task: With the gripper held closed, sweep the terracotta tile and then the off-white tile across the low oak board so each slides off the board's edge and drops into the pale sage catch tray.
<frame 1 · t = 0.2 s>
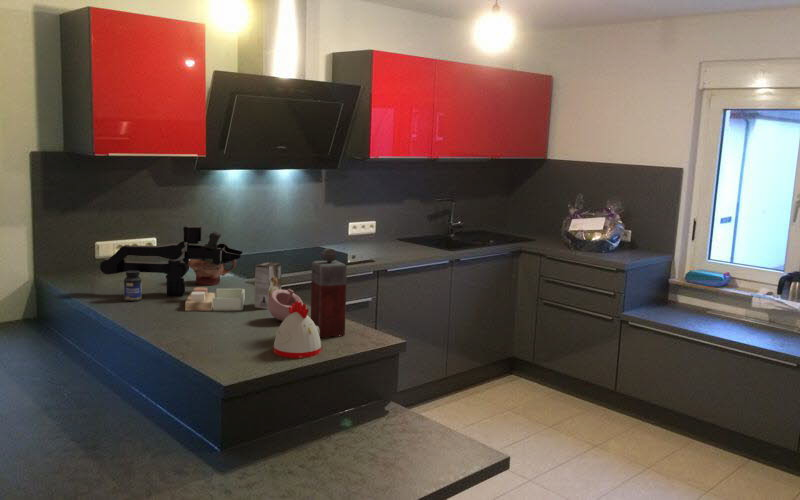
hand: (241, 254, 270), 16 cm above the worktop, tool horizontal, fingers open, 9 cm apart
catch tray: (229, 305, 255), on the worktop
oak board: (200, 305, 253), on the worktop
pill bottle: (133, 300, 257), on the worktop
kitchen timer: (297, 351, 201), on the worktop
decorative planter: (212, 283, 294), on the worktop
red square decanter: (326, 333, 223), on the worktop
mortar and pestle: (285, 321, 236), on the worktop
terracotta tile: (200, 295, 256), point 3 cm above the worktop, touching oak board
coffee box: (267, 306, 256), on the worktop
offwhite tile: (198, 299, 249), point 3 cm above the worktop, touching oak board
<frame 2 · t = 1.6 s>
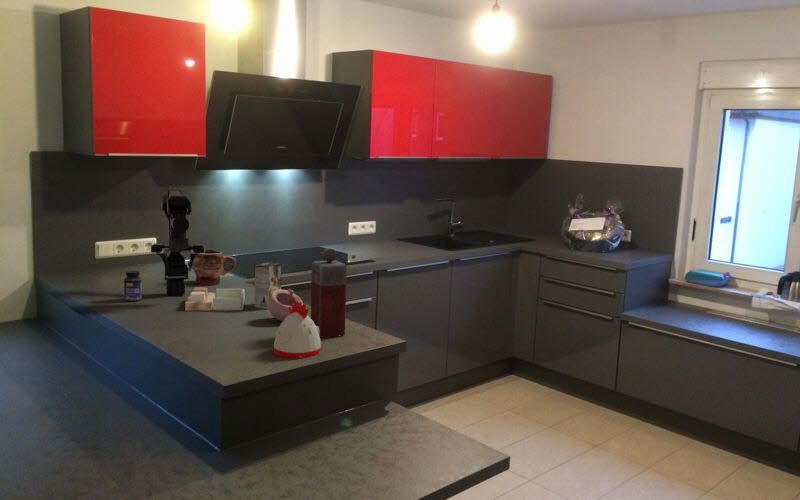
hand: (178, 271, 254), 12 cm above the worktop, tool pointing down, fingers open, 8 cm apart
nothing on the worktop moved.
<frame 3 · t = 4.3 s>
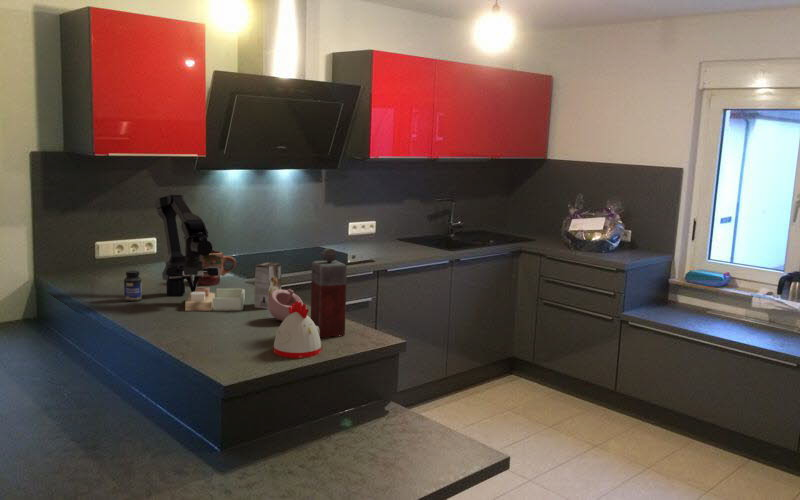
hand: (193, 293, 256), 4 cm above the worktop, tool pointing down, fingers closed
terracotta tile: (202, 294, 257), point 3 cm above the worktop, touching gripper
everything else where it was.
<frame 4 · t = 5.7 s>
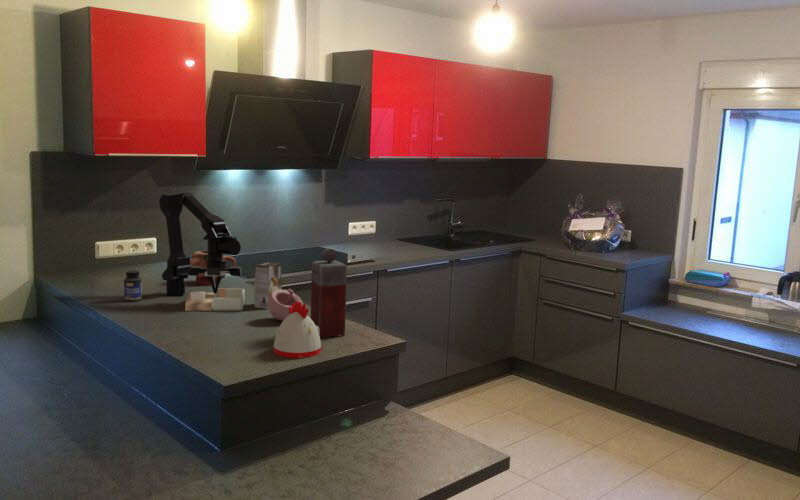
hand: (215, 293, 257), 4 cm above the worktop, tool pointing down, fingers closed
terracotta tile: (219, 295, 258), point 3 cm above the worktop, tilted 90°, touching catch tray
everything else where it was.
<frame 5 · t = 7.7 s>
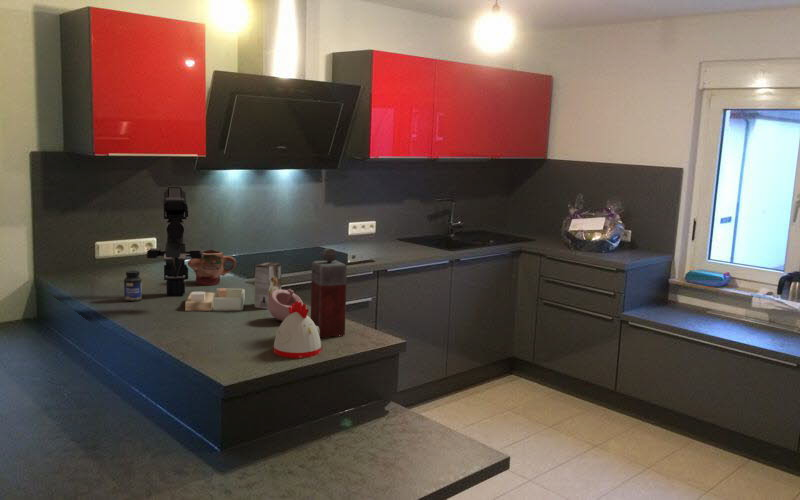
hand: (175, 277, 246), 11 cm above the worktop, tool pointing down, fingers closed
nothing on the worktop moved.
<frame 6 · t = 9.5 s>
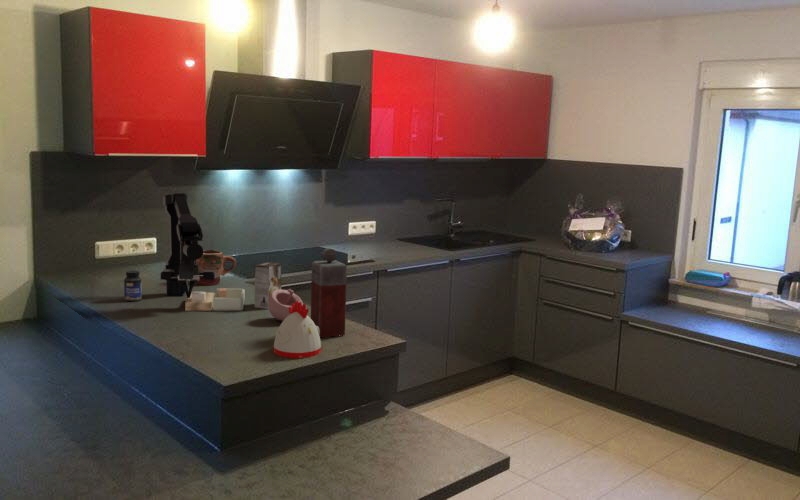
hand: (188, 297, 248), 4 cm above the worktop, tool pointing down, fingers closed
offwhite tile: (198, 299, 249), point 3 cm above the worktop, touching gripper
everything else where it was.
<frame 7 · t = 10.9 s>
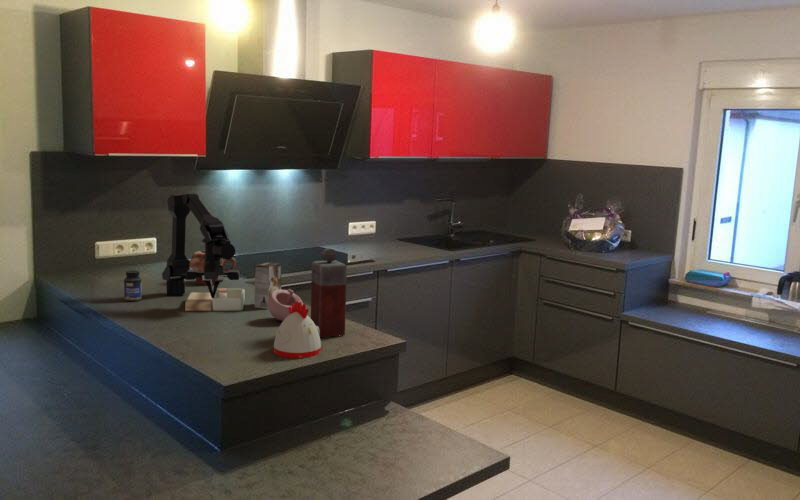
hand: (212, 297, 249), 4 cm above the worktop, tool pointing down, fingers closed
offwhite tile: (219, 300, 250), point 3 cm above the worktop, tilted 92°, touching catch tray
everything else where it was.
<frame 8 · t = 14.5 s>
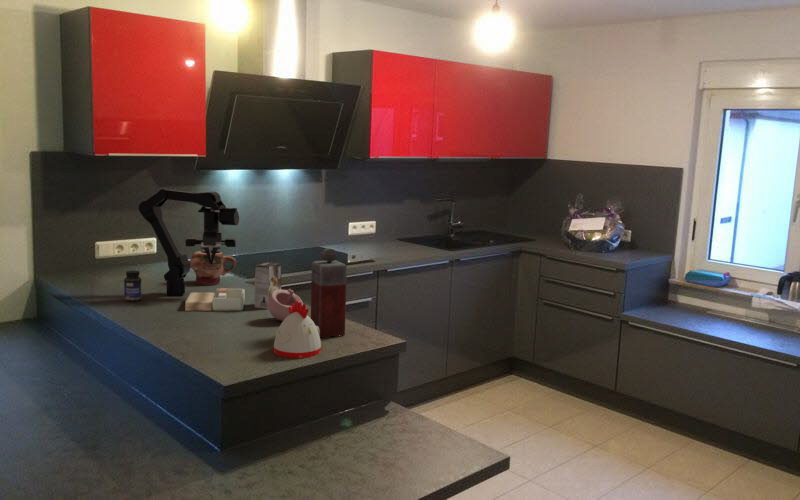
hand: (211, 264, 266), 13 cm above the worktop, tool pointing down, fingers closed
nothing on the worktop moved.
at the end: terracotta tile inside the target area on the catch tray (5.8 cm from its centre), point 2.8 cm above the catch tray's base; offwhite tile inside the target area on the catch tray (5.5 cm from its centre), point 2.8 cm above the catch tray's base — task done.
